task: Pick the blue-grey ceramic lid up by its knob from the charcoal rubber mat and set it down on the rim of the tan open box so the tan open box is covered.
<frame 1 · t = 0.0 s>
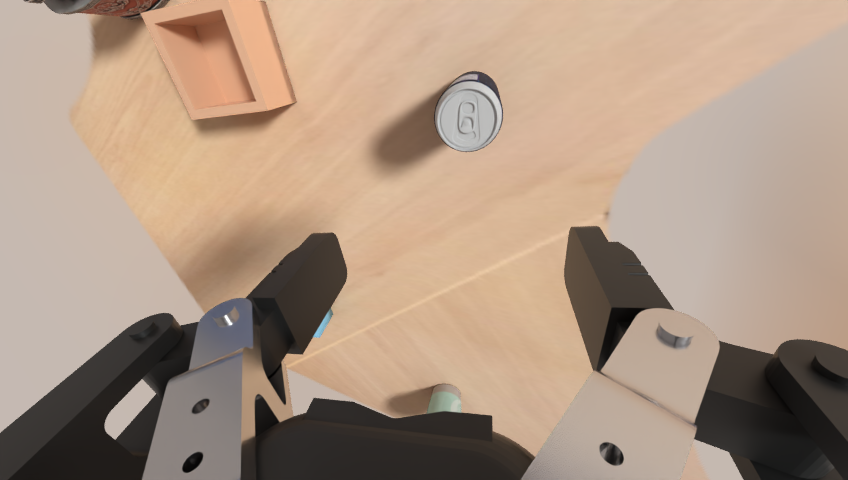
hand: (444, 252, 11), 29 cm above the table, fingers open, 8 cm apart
coffee cup: (446, 391, 65), on the table
beverage can: (472, 99, 35), on the table
tan open box: (245, 61, 37), on the table
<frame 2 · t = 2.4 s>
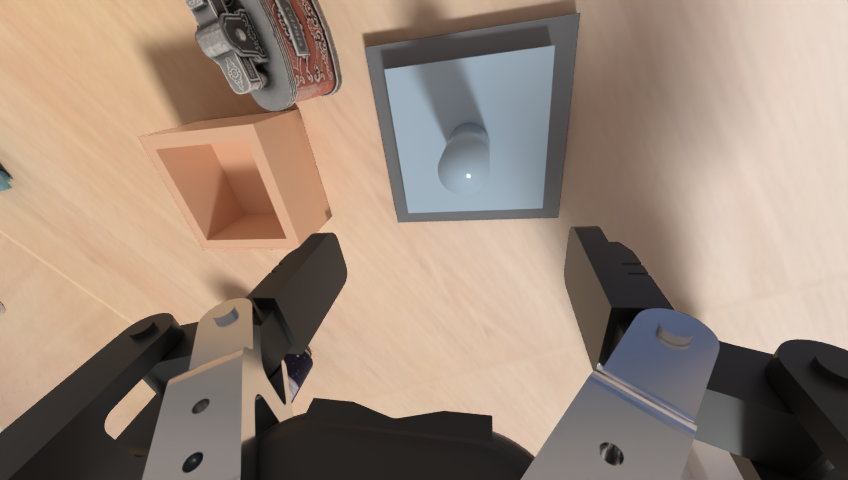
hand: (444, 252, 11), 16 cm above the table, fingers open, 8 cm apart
mat: (470, 137, 24), on the table
beverage can: (297, 351, 44), on the table
tan open box: (269, 170, 29), on the table
lighter: (311, 36, 23), on the table
lid: (469, 139, 24), point 1 cm above the table, touching mat
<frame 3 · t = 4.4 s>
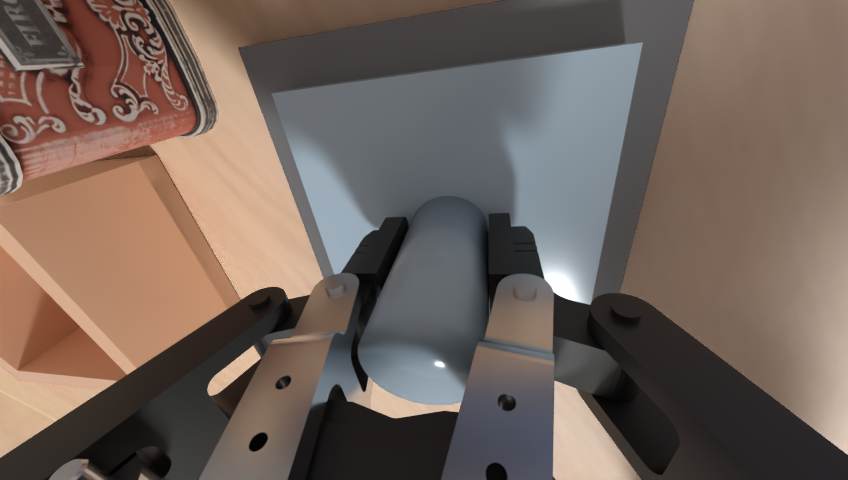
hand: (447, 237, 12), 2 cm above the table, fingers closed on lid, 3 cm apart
mat: (453, 209, 14), on the table
tan open box: (138, 244, 18), on the table
lighter: (147, 27, 12), on the table
lid: (452, 217, 13), point 1 cm above the table, touching gripper, mat
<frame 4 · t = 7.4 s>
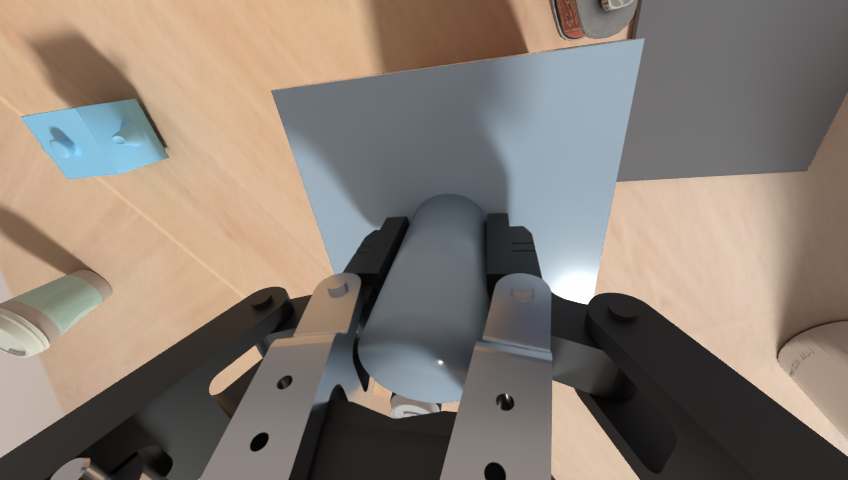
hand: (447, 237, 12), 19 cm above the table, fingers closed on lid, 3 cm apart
mat: (726, 83, 23), on the table
teapot: (144, 129, 35), on the table
coffee cup: (96, 282, 52), on the table
beverage can: (431, 330, 43), on the table
lid: (452, 215, 13), point 18 cm above the table, touching gripper
when the fingers open (9 cm above the table, at t = 10.1 s): lid stays where it is, resting on tan open box.
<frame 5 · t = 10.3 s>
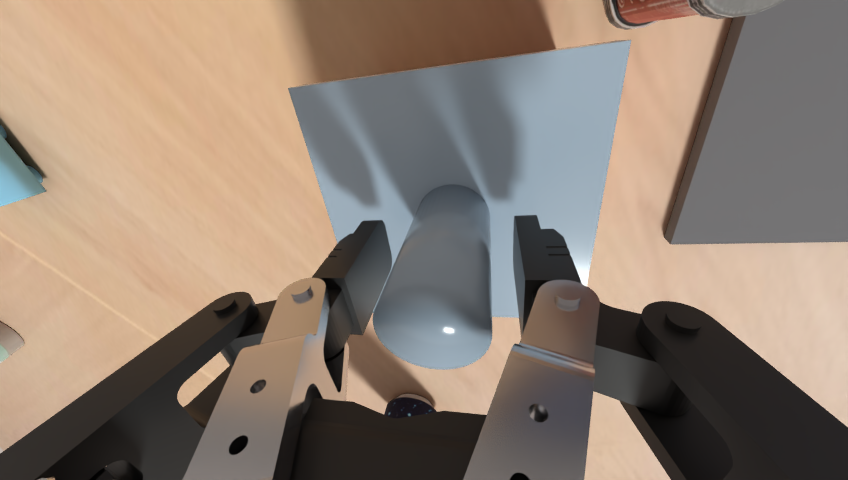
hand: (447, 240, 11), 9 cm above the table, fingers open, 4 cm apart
teapot: (11, 152, 25), on the table
coffee cup: (4, 330, 42), on the table
beverage can: (414, 403, 34), on the table
lid: (455, 206, 14), point 6 cm above the table, touching tan open box
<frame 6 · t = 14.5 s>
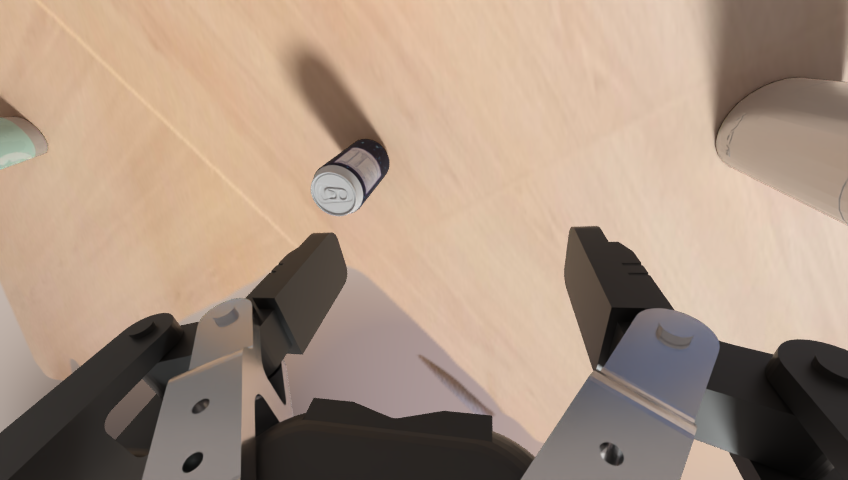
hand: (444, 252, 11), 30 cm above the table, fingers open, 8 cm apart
coffee cup: (31, 135, 49), on the table
beverage can: (371, 158, 42), on the table
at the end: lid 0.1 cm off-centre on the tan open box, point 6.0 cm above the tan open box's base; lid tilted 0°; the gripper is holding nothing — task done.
